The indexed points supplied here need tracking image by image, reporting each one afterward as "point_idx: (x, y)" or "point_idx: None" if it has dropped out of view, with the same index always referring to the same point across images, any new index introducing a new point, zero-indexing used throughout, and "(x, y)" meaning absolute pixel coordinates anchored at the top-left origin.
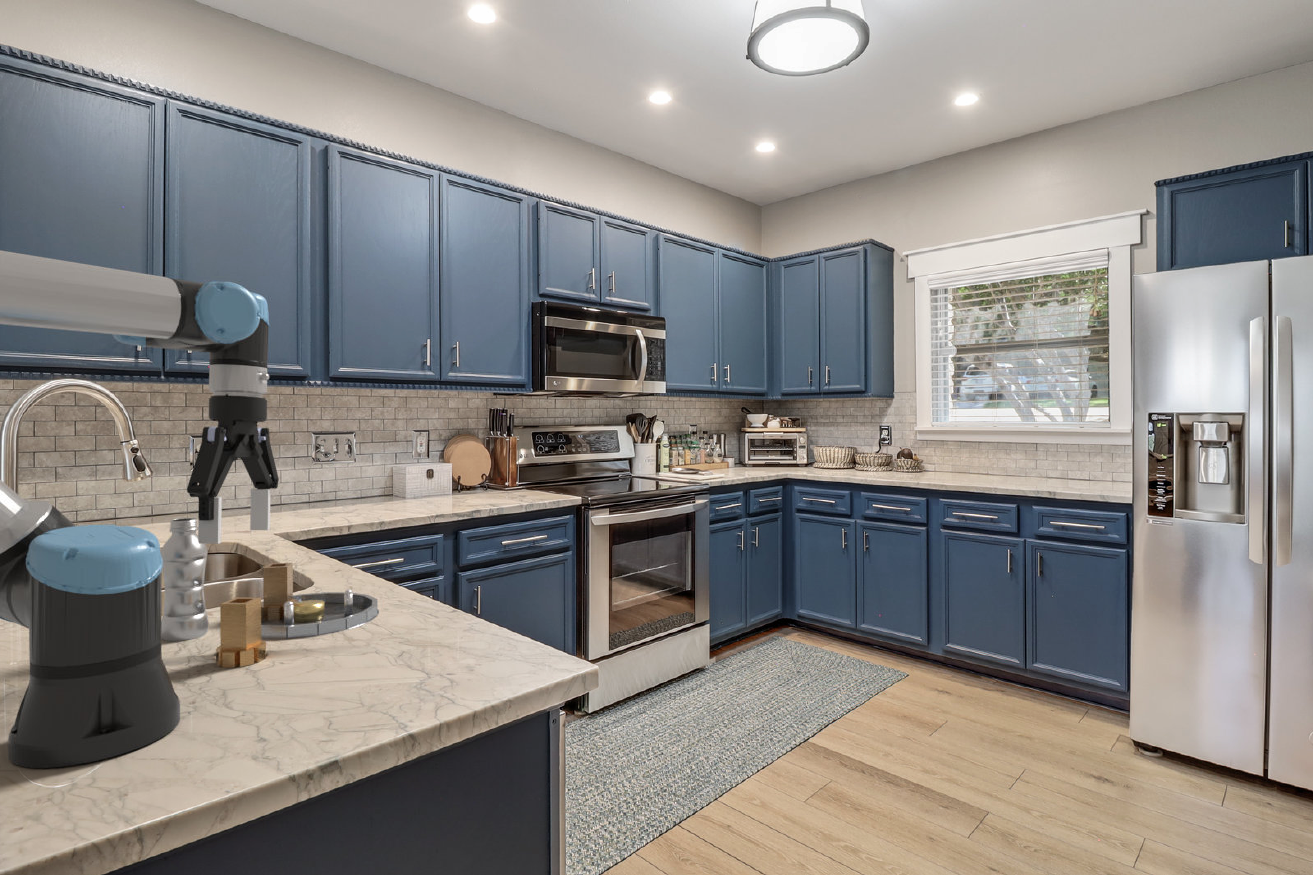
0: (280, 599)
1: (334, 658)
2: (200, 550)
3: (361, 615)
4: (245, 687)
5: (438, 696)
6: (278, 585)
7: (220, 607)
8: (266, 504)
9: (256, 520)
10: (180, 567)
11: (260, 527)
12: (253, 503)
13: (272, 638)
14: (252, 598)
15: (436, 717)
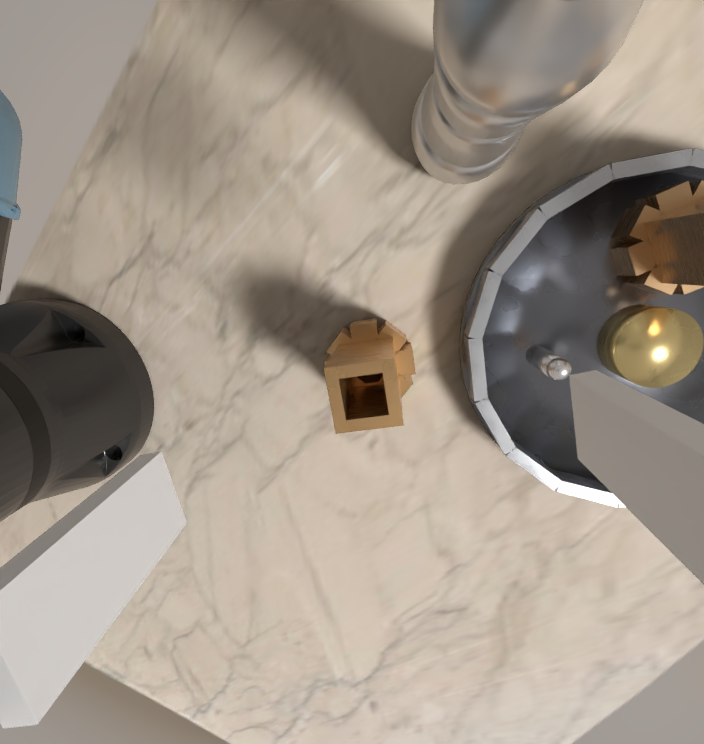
0: (667, 266)
1: (410, 517)
2: (527, 100)
3: (598, 501)
4: (258, 459)
5: (292, 716)
6: (697, 260)
7: (325, 366)
8: (665, 537)
9: (597, 425)
10: (445, 84)
11: (581, 430)
12: (665, 452)
13: (464, 365)
14: (390, 410)
15: (234, 732)
